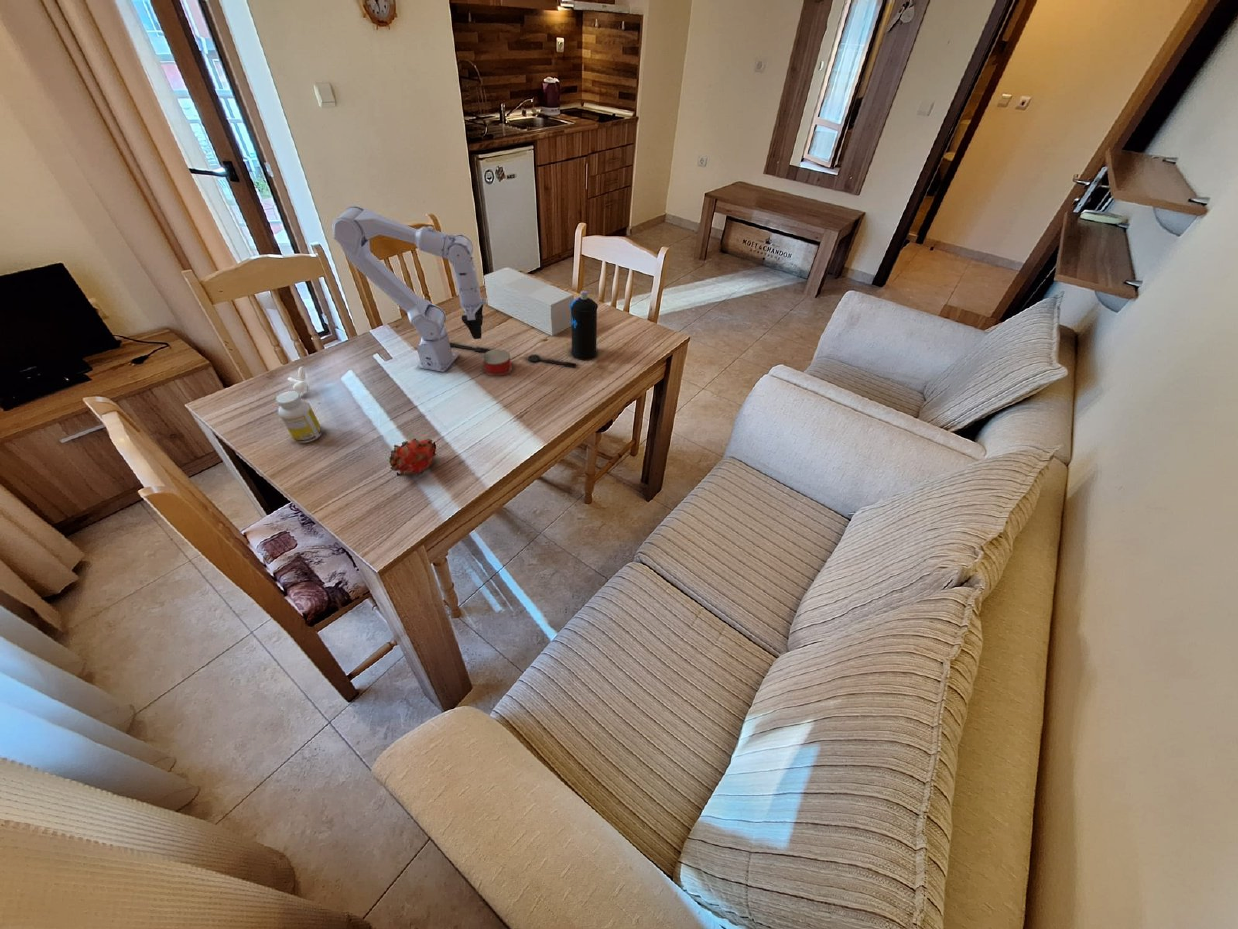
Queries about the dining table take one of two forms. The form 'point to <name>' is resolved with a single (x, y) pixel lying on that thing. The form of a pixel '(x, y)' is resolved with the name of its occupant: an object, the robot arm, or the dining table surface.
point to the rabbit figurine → (299, 382)
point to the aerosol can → (584, 327)
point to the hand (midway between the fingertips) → (478, 331)
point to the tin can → (497, 362)
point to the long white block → (529, 300)
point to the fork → (469, 348)
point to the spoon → (550, 361)
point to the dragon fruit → (412, 456)
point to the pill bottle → (298, 417)
